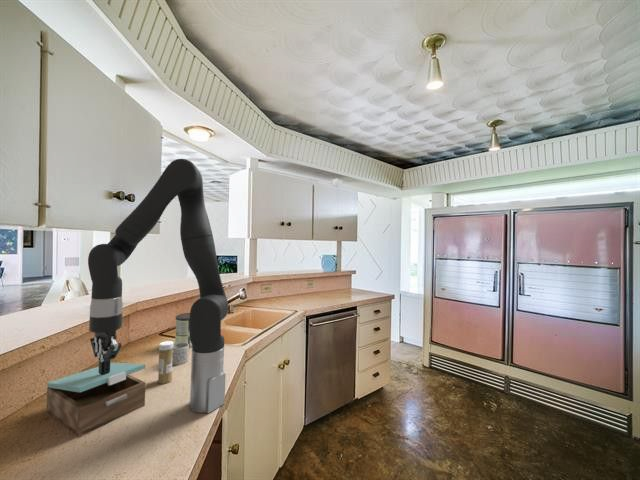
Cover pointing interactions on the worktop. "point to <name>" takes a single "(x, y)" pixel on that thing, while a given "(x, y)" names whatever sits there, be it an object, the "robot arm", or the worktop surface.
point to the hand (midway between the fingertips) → (104, 373)
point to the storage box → (95, 404)
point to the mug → (180, 353)
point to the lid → (95, 377)
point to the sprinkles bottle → (165, 362)
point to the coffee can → (183, 329)
